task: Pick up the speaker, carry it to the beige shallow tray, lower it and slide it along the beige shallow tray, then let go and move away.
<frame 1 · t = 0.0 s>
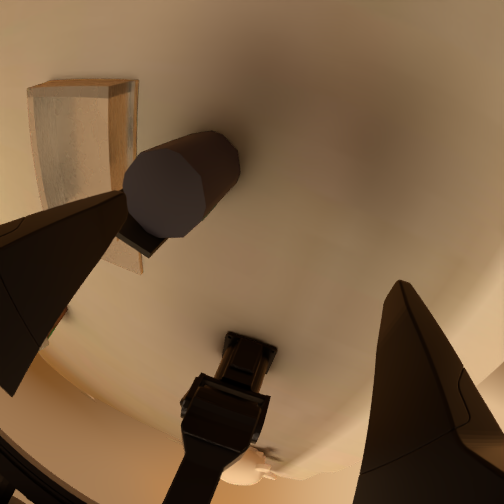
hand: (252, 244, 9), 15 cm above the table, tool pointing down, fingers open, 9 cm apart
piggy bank: (254, 449, 66), on the table
speaker: (203, 156, 24), on the table
beige shallow tray: (90, 166, 28), on the table
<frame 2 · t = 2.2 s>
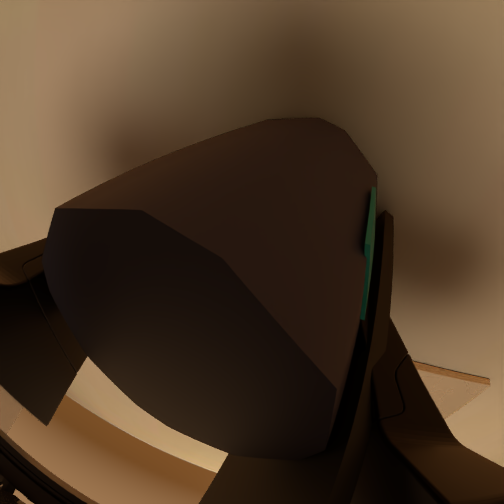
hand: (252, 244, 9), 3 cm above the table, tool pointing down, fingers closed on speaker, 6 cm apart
speaker: (288, 199, 11), on the table, touching gripper
beige shallow tray: (287, 385, 19), on the table
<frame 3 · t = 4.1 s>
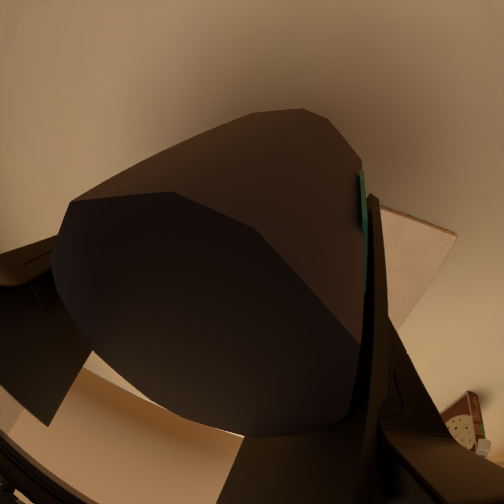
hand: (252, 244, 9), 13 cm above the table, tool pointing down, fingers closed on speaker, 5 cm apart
speaker: (276, 189, 12), point 9 cm above the table, touching gripper
food container: (462, 406, 32), on the table
beige shallow tray: (284, 251, 25), on the table
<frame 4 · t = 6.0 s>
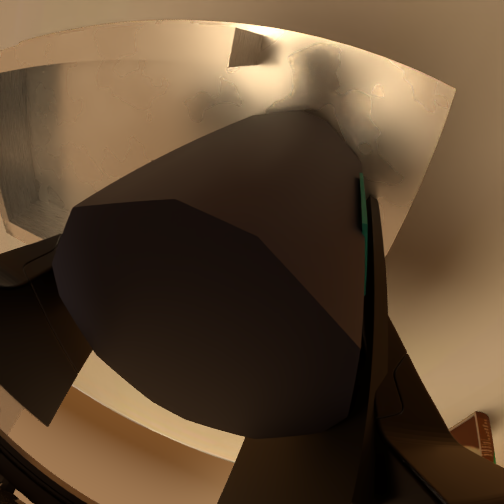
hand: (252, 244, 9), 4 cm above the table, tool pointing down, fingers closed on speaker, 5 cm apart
speaker: (276, 191, 12), point 1 cm above the table, touching gripper
food container: (465, 430, 21), on the table
beige shallow tray: (134, 149, 13), on the table
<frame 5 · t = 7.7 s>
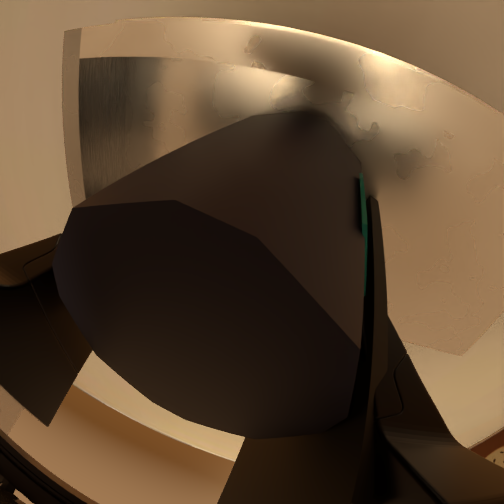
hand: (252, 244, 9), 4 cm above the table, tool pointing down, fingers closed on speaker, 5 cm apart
speaker: (276, 191, 12), point 1 cm above the table, touching gripper
beige shallow tray: (305, 190, 12), on the table
when the fingers open (4 cm above the table, at t = 9.0 s): speaker stays where it is, resting on beige shallow tray.
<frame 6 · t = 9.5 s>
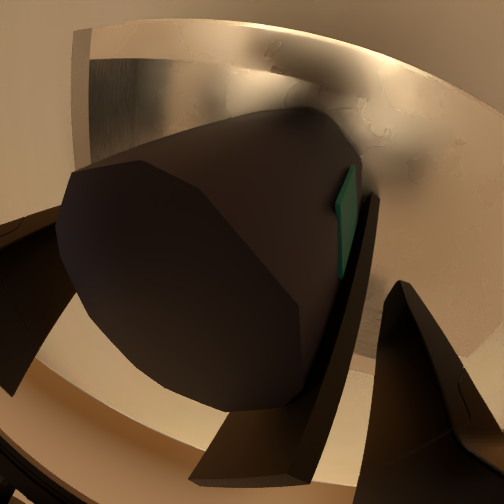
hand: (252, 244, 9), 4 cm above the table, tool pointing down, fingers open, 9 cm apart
speaker: (281, 185, 12), resting on beige shallow tray
beige shallow tray: (317, 194, 12), on the table
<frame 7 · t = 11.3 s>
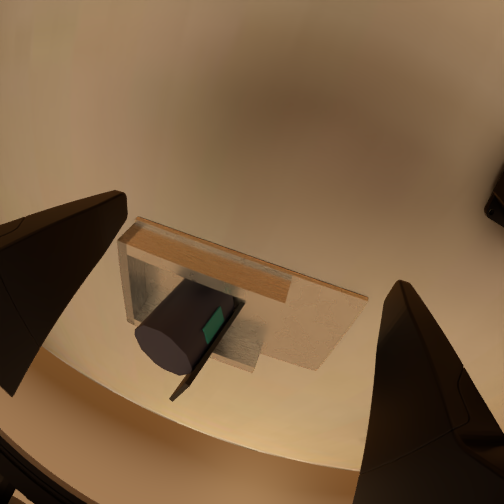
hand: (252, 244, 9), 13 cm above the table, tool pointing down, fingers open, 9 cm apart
speaker: (207, 294, 30), resting on beige shallow tray
beige shallow tray: (222, 298, 30), on the table
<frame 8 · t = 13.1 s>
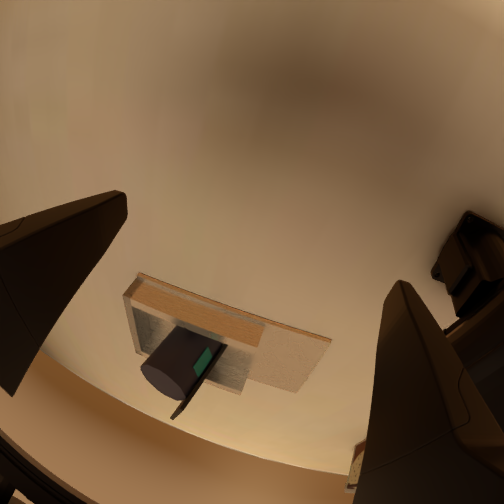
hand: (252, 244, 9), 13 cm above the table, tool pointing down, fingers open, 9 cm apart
speaker: (199, 332, 35), resting on beige shallow tray
food container: (381, 439, 43), on the table
beige shallow tray: (212, 335, 35), on the table
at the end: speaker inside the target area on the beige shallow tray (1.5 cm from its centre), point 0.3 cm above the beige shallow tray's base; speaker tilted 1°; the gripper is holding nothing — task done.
